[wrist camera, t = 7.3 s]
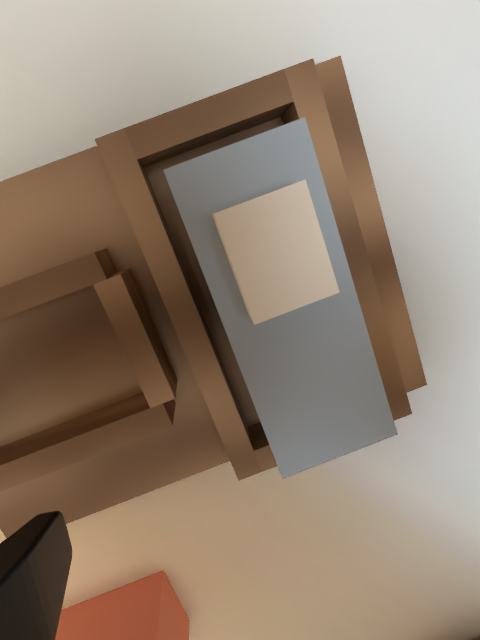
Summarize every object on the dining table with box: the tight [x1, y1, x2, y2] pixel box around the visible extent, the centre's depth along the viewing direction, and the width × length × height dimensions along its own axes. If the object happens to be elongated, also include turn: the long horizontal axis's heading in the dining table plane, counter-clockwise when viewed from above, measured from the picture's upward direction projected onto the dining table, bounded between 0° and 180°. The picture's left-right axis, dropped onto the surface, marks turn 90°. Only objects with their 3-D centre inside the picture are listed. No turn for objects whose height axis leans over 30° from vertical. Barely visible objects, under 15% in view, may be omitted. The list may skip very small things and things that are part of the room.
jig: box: [0, 56, 427, 538], centre depth 16 cm, size 14×20×3 cm
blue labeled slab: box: [163, 117, 397, 478], centre depth 14 cm, size 10×4×6 cm, turn 20°
